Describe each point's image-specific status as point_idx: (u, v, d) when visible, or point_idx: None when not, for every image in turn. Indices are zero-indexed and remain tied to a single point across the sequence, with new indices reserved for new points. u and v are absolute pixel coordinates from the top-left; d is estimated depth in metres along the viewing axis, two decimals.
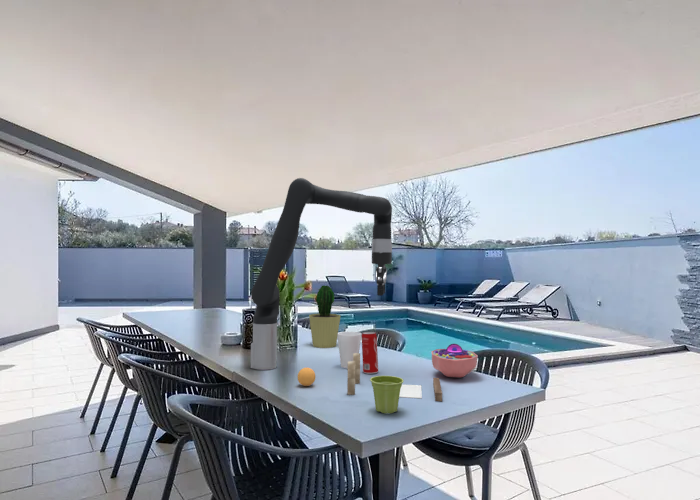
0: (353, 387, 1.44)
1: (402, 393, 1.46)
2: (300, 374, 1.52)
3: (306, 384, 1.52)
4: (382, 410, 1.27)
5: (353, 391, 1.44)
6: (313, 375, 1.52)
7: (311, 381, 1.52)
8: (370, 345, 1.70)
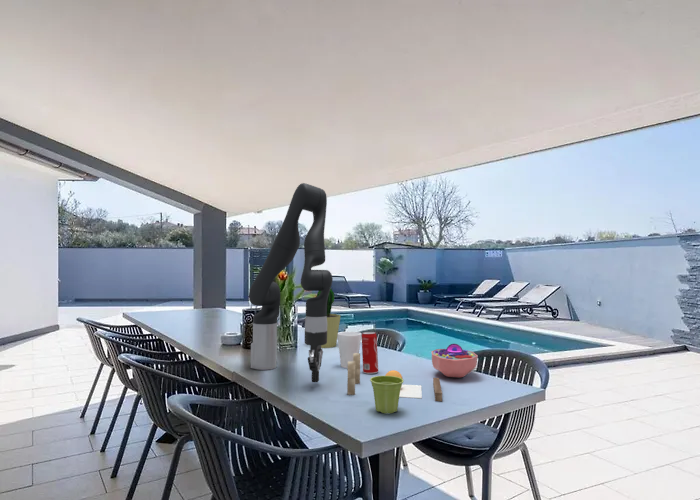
0: (353, 387, 1.44)
1: (402, 393, 1.46)
2: None
3: (391, 374, 1.49)
4: (382, 410, 1.27)
5: (353, 391, 1.44)
6: None
7: None
8: (370, 345, 1.70)
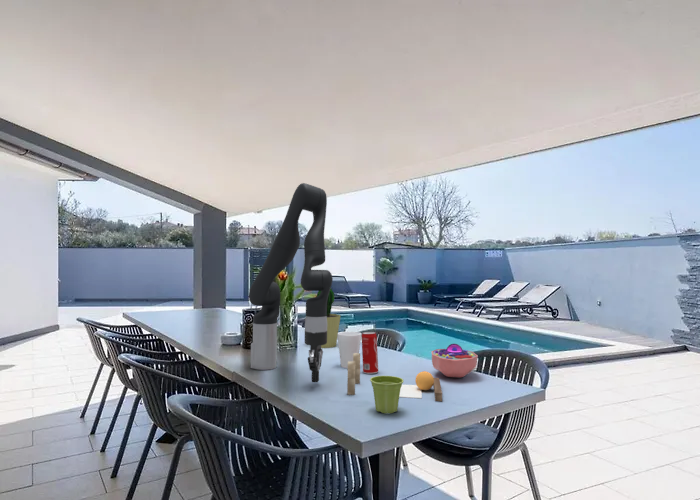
0: (353, 387, 1.44)
1: (402, 393, 1.46)
2: (420, 377, 1.48)
3: (425, 389, 1.48)
4: (382, 410, 1.27)
5: (353, 391, 1.44)
6: (433, 380, 1.49)
7: (430, 386, 1.49)
8: (370, 345, 1.70)
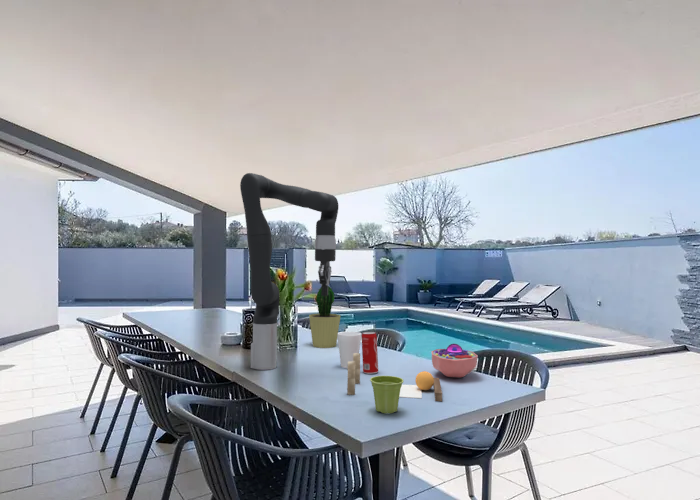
0: (353, 387, 1.44)
1: (402, 393, 1.46)
2: (420, 377, 1.48)
3: (425, 389, 1.48)
4: (382, 410, 1.27)
5: (353, 391, 1.44)
6: (433, 380, 1.49)
7: (430, 386, 1.49)
8: (370, 345, 1.70)
